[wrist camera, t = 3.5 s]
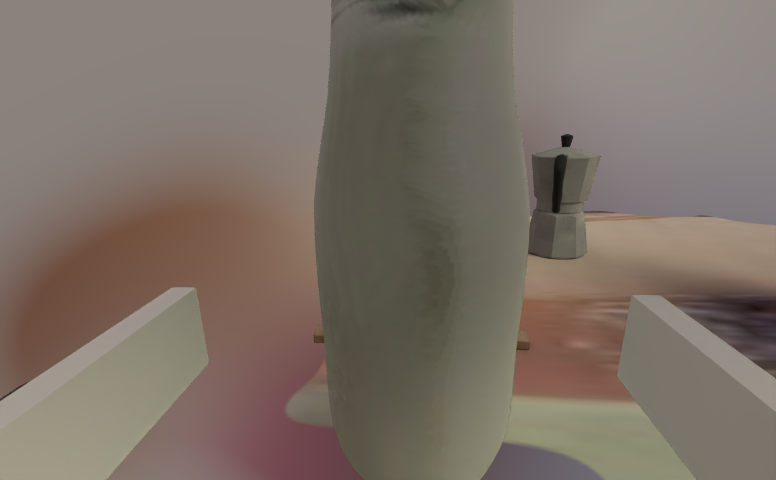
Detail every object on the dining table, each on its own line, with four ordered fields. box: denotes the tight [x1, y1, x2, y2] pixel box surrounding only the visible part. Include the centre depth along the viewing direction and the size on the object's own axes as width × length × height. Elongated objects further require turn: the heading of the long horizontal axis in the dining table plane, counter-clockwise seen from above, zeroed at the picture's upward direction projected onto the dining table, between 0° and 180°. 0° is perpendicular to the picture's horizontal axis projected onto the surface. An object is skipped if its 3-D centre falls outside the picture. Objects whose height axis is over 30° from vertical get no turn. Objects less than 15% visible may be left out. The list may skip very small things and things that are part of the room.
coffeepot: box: [528, 134, 601, 259], centre depth 58 cm, size 15×9×18 cm, turn 152°
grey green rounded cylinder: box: [314, 0, 530, 480], centre depth 19 cm, size 10×10×28 cm
